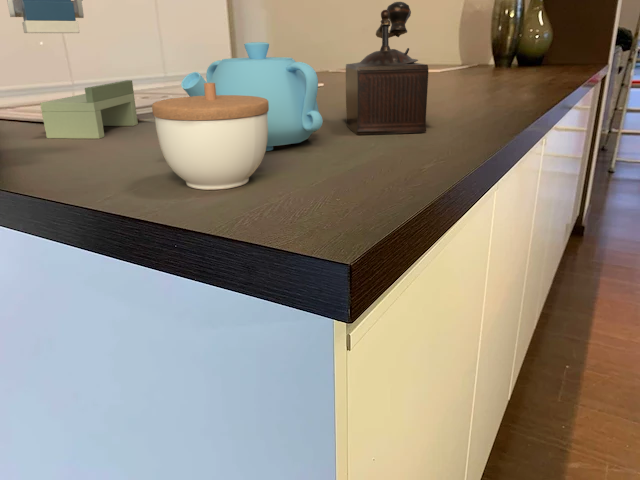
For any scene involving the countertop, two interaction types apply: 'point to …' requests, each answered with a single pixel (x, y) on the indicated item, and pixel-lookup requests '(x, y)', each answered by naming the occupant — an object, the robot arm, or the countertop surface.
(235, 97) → the white bowl with lid
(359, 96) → the manual coffee grinder
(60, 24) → the blue block cream base
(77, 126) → the shoe shelf
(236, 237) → the countertop surface
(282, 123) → the teapot
